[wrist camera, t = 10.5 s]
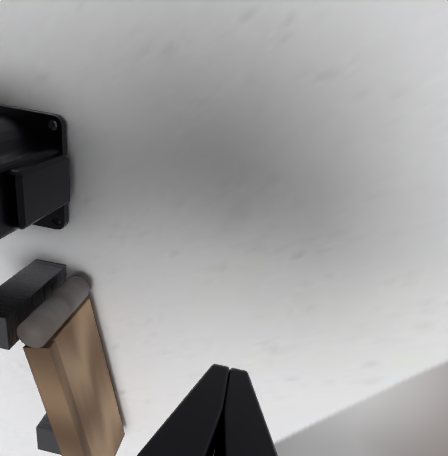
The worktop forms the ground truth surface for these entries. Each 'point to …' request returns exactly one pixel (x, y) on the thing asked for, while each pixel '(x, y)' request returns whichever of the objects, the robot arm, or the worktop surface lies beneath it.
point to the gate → (72, 372)
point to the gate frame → (20, 309)
